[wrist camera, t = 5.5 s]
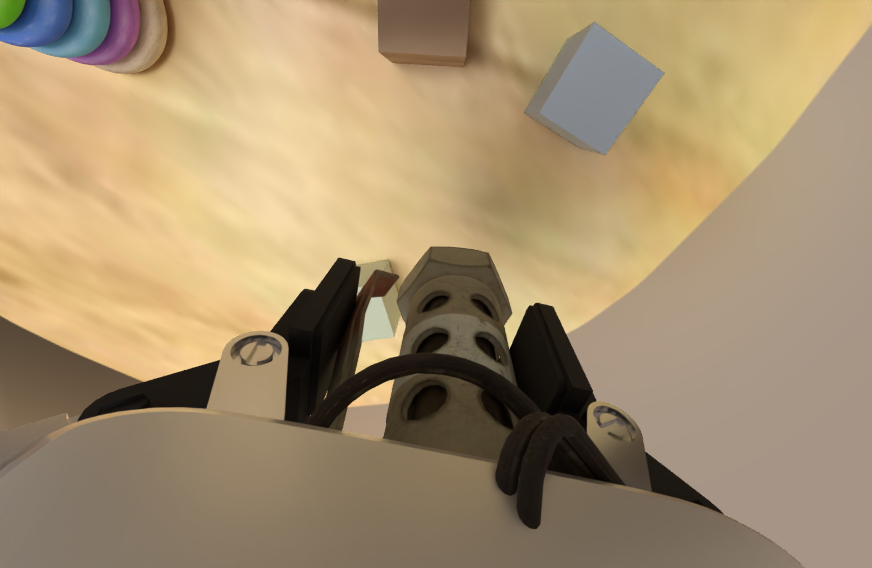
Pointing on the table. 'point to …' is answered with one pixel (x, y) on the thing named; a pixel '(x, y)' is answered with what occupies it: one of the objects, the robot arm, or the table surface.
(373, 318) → the sage cube
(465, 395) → the grenade model
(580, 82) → the slate blue cube
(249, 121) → the table surface
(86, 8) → the stacking toy
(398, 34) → the walnut cube
